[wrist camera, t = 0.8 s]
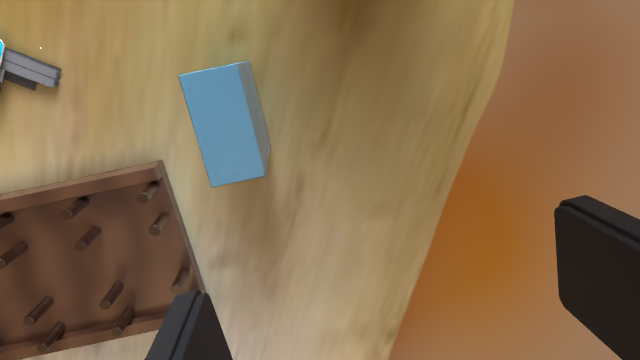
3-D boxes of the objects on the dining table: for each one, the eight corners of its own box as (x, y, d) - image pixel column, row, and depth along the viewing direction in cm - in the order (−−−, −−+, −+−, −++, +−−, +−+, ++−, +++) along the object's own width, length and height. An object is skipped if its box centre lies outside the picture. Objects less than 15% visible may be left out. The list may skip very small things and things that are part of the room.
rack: (3, 349, 42) (-29, 382, 38) (-73, 209, 37) (-120, 229, 33) (210, 305, 42) (202, 333, 38) (162, 160, 37) (146, 173, 33)
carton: (205, 69, 35) (177, 75, 26) (250, 60, 35) (237, 62, 26) (229, 157, 37) (211, 187, 29) (271, 148, 38) (266, 176, 29)
